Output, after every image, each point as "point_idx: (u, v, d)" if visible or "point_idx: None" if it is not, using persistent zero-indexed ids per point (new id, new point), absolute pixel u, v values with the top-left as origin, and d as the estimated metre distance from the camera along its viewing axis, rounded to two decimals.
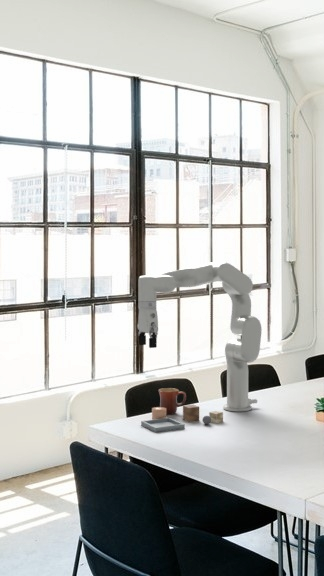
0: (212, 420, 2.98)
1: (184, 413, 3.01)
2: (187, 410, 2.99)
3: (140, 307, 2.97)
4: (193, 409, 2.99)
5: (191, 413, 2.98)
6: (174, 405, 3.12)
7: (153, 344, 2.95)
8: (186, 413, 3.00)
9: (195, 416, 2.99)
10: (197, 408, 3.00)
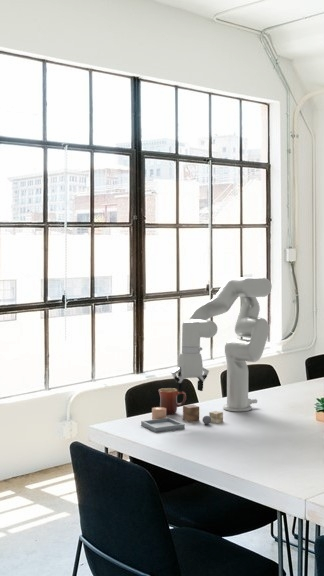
0: (212, 420, 2.98)
1: (184, 413, 3.01)
2: (187, 410, 2.99)
3: (196, 353, 2.97)
4: (193, 409, 2.99)
5: (191, 413, 2.98)
6: (174, 405, 3.12)
7: None
8: (186, 413, 3.00)
9: (195, 416, 2.99)
10: (197, 408, 3.00)
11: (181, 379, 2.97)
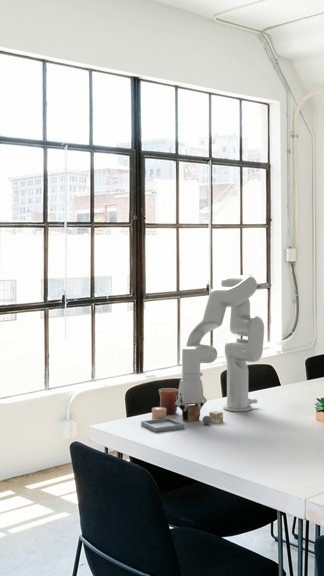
0: (212, 420, 2.98)
1: None
2: (187, 410, 2.99)
3: (197, 379, 2.98)
4: (193, 409, 2.99)
5: (191, 413, 2.98)
6: (174, 405, 3.12)
7: None
8: None
9: (195, 416, 2.99)
10: (197, 408, 3.00)
11: (185, 407, 2.98)
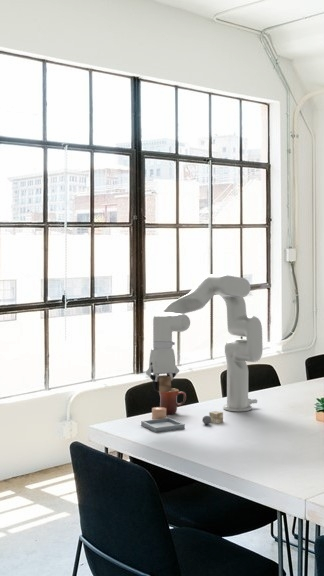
0: (212, 420, 2.98)
1: None
2: (158, 380, 2.86)
3: (168, 347, 2.85)
4: (164, 379, 2.86)
5: (162, 383, 2.86)
6: (174, 405, 3.12)
7: None
8: None
9: (166, 386, 2.87)
10: (169, 378, 2.87)
11: (156, 377, 2.86)
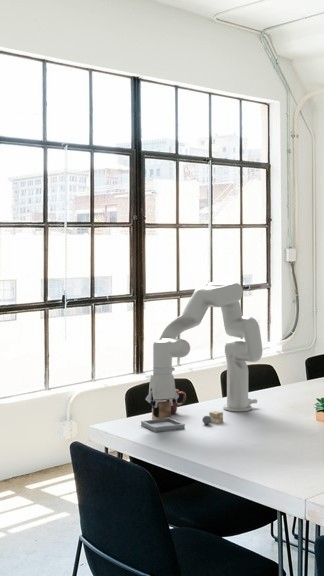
0: (212, 420, 2.98)
1: None
2: (158, 406, 2.87)
3: (168, 373, 2.86)
4: (164, 405, 2.87)
5: (162, 409, 2.86)
6: (174, 405, 3.12)
7: None
8: None
9: (166, 412, 2.87)
10: (168, 404, 2.88)
11: (156, 403, 2.86)
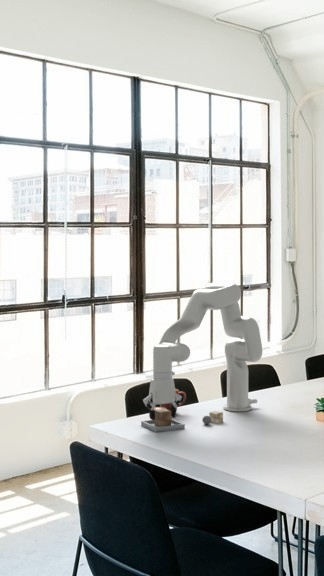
0: (212, 420, 2.98)
1: (155, 418, 2.90)
2: (158, 415, 2.87)
3: (168, 378, 2.86)
4: (164, 414, 2.87)
5: (162, 418, 2.87)
6: None
7: None
8: (157, 418, 2.88)
9: (166, 421, 2.88)
10: (169, 413, 2.88)
11: (153, 406, 2.86)
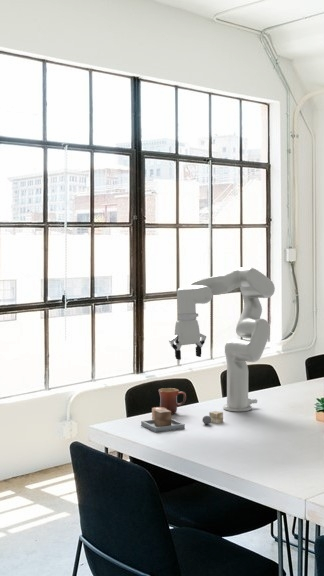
0: (212, 420, 2.98)
1: (155, 418, 2.90)
2: (158, 415, 2.87)
3: (193, 319, 2.96)
4: (164, 414, 2.87)
5: (162, 418, 2.87)
6: (174, 405, 3.12)
7: None
8: (157, 418, 2.88)
9: (166, 421, 2.88)
10: (169, 413, 2.88)
11: (179, 346, 2.96)
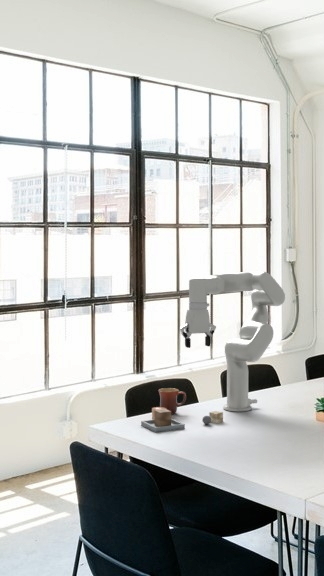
0: (212, 420, 2.98)
1: (155, 418, 2.90)
2: (158, 415, 2.87)
3: (203, 308, 3.01)
4: (164, 414, 2.87)
5: (162, 418, 2.87)
6: (174, 405, 3.12)
7: None
8: (157, 418, 2.88)
9: (166, 421, 2.88)
10: (169, 413, 2.88)
11: (189, 334, 3.01)
